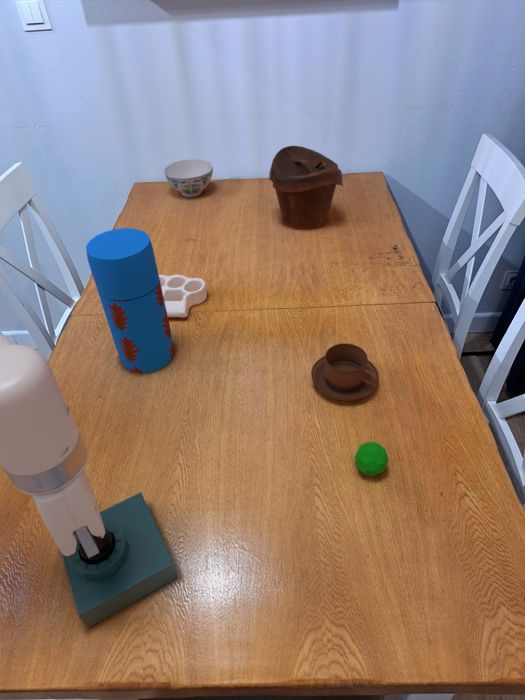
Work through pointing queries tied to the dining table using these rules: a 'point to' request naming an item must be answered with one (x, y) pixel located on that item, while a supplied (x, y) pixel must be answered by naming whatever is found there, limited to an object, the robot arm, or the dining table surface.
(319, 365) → the cup and saucer
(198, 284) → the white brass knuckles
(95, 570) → the push-button housing
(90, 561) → the knob
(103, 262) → the thermos
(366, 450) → the polyhedron
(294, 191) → the brown lidded bucket
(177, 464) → the dining table surface
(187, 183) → the chinaware
